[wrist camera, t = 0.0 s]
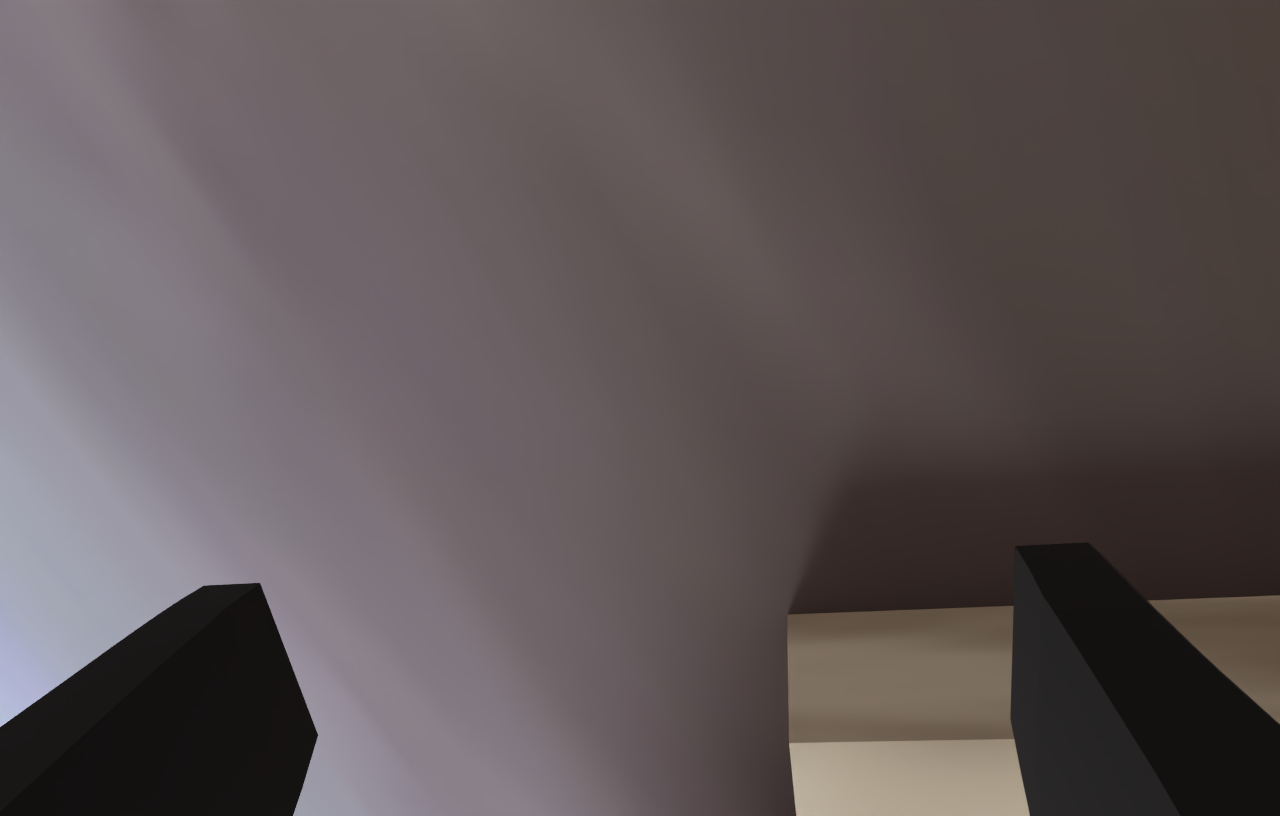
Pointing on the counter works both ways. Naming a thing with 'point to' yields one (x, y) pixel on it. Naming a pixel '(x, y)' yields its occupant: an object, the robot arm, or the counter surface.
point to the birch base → (955, 702)
